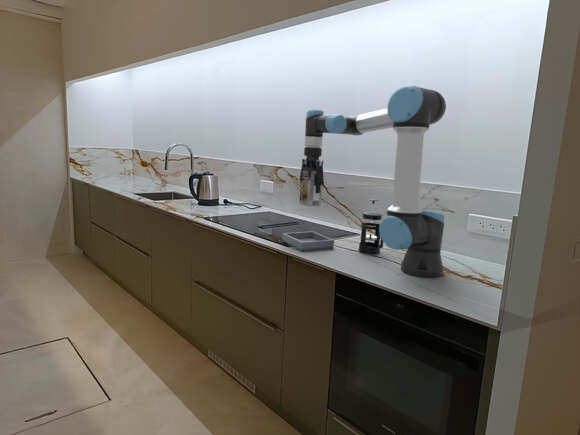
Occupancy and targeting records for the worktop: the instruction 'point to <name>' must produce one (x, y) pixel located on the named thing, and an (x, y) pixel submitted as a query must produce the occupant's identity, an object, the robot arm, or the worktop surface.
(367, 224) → the french press
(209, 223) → the worktop surface
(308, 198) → the coffee box
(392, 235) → the robot arm
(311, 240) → the bin
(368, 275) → the worktop surface
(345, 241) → the worktop surface
